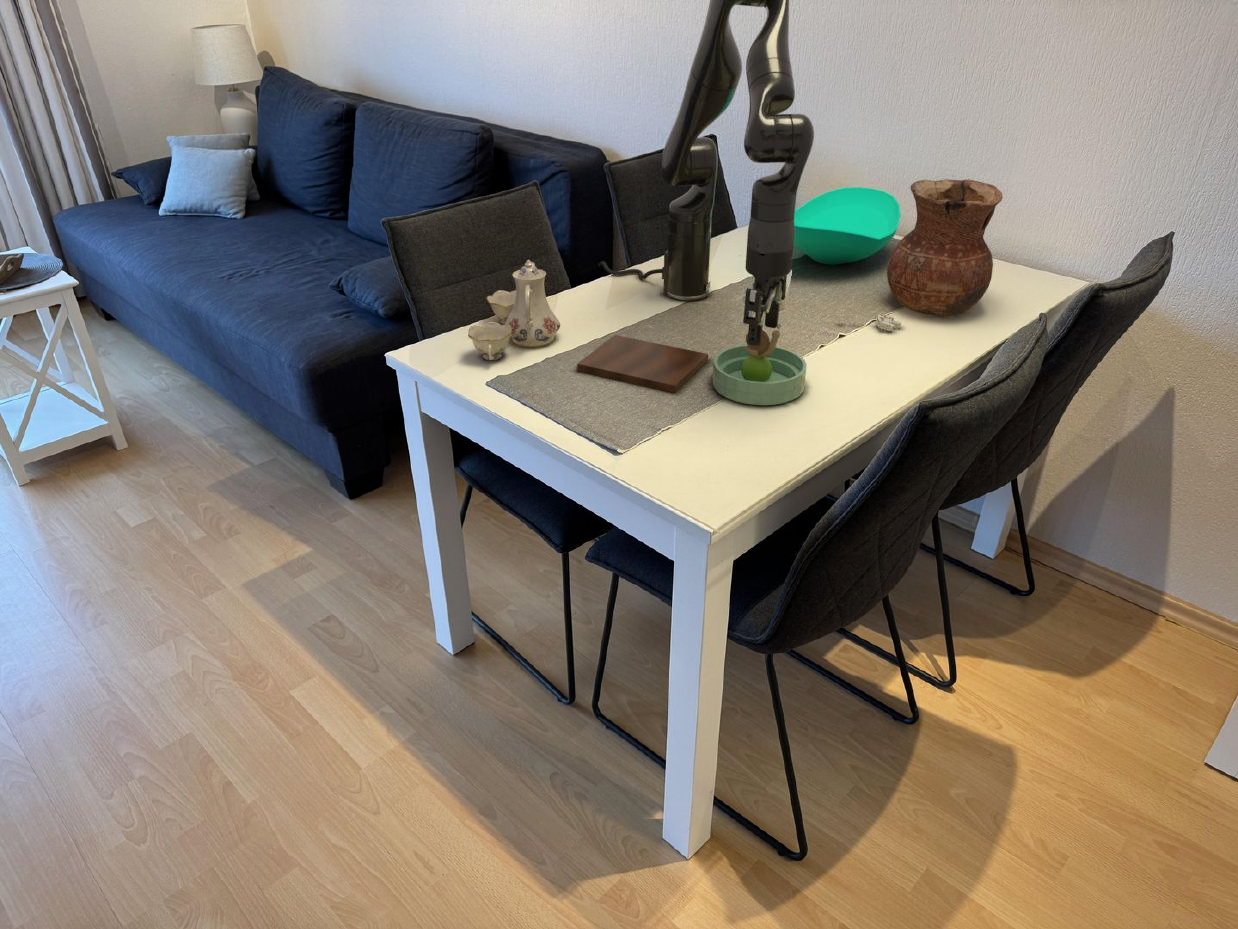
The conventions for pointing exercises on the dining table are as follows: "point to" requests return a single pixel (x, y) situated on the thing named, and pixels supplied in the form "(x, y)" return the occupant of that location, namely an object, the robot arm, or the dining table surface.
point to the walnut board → (643, 363)
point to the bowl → (775, 390)
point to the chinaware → (517, 316)
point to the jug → (945, 248)
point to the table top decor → (846, 224)
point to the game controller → (886, 322)
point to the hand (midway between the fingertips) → (762, 335)
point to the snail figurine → (760, 358)
